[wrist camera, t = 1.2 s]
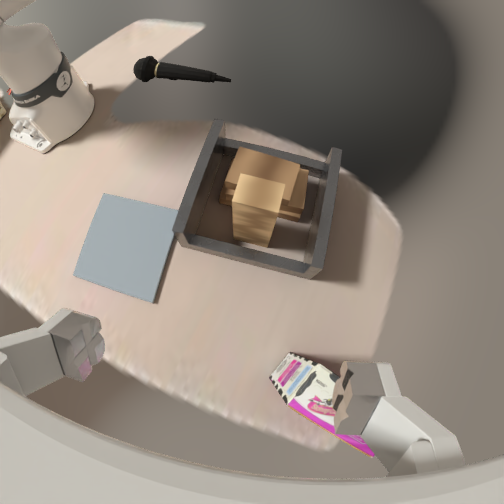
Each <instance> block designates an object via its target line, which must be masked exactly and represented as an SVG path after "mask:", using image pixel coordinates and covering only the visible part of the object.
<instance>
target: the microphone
mask: <svg viewBox="0 0 504 504" xmlns="http://www.w3.org/2000/svg"><path fill="white" fill-rule="evenodd" d="M134 74H135V76H136V78H138V79H140V80H142V81H143V82H148V81H149V80H150V79H153V78H154V77H155V76H156V77H157V78H167V79H170V80H177V79H181V80H192V81H202V82H214V81H222V82H231V79H228V78H225V77H222V76H218V75H216V73H212V72H210V71H205V70H201V69H197V68H191V67H186V66H181V65H175V64H169V63H163V62H160V63H158V62H157V60H156V59H154V57H153V56H147V57H146V58H142V59H139V60H138V61H137V62H136V64H135V65H134Z"/></svg>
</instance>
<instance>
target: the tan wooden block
mask: <svg viewBox="0 0 504 504" xmlns="http://www.w3.org/2000/svg"><path fill="white" fill-rule="evenodd" d="M284 188H285V184H282V183H278V182H274V181H270V180H266V179H262V178H258V177H254V176H250V175H246V174H242V173H241V174H240V177H239V180H238V183H237V186H236V190H235V193H234V196H233V199H232V216H233V238H234V239H235V240H239V241H243V242H247V243H251V244H255V245H259V246H263V247H268V244H269V241H270V238H271V235H272V232H273V229H274V225H275V222H276V219H277V216H278V213H279V209H280V205H281V201H282V196H283V192H284Z"/></svg>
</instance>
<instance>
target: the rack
mask: <svg viewBox="0 0 504 504" xmlns="http://www.w3.org/2000/svg"><path fill="white" fill-rule="evenodd" d="M239 146H240V147H243V148H247V149H250V150H254V151H257V152H261V153H264V154H268V155H271V156H274V157H278V158H281V159H284V160H288V161H291V162H294V163H297V164H300V169H305V170H309V173H308V175H311V176H314V177H318V178H320V180H319V185H318V191H317V196H316V201H315V207H314V212H313V217H312V222H311V227H310V232H309V237H308V242H307V247H306V251H305V256H304V261H303V262H300V261H296V260H292V259H288V258H284V257H281V256H277V255H273V254H269V253H265V252H261V251H257V250H253V249H249V248H246V247H242V246H238V245H234V244H230V243H226V242H222V241H218V240H214V239H210V238H207V237H203V236H199V235H196V232H197V229H198V226H199V223H200V220H201V217H202V214H203V211H204V208H205V205H206V202H207V199H208V196H209V193H210V190H211V187H212V184H213V182H214V179H215V176H216V173H217V170H218V167H219V165H220V162H221V159H222V156H223V154H225V155H229V156H234V157H235V156H236V153H237V151H238V149H239ZM341 155H342V150H341V149H338V148H334V147H332V149H331V151H330V153H329V155H328V157H327V159H326V161H325V163H324V162H321V161H317V160H314V159H310V158H307V157H303V156H299V155H295V154H292V153H288V152H284V151H280V150H276V149H272V148H267V147H263V146H259V145H255V144H250V143H246V142H241V141H236V140H232V139H227V138H225V121H224V120H218V119H215V120H214V122H213V124H212V127H211V129H210V131H209V134H208V136H207V138H206V141H205V143H204V146H203V148H202V151H201V153H200V156H199V158H198V161H197V163H196V166H195V168H194V171H193V173H192V176H191V178H190V181H189V184H188V186H187V189H186V192H185V194H184V197H183V200H182V203H181V205H180V208H179V211H178V214H177V216H176V219H175V222H174V225H173V228H172V232H173V233H174V235H175V237H176V238H177V240H178V242H179V243H180V245H181V246H182V247H186V248H190V249H193V250H197V251H201V252H205V253H209V254H212V255H216V256H220V257H224V258H228V259H231V260H235V261H239V262H243V263H247V264H251V265H255V266H259V267H262V268H266V269H270V270H274V271H278V272H282V273H286V274H290V275H294V276H298V277H302V278H306V279H311V278H313V277H314V276H315V275H316V274H318V273H319V272H320V271H321V270H322V269H323V266H324V260H325V255H326V250H327V244H328V239H329V233H330V228H331V222H332V216H333V210H334V203H335V197H336V190H337V184H338V177H339V170H340V162H341Z"/></svg>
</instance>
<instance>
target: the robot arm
mask: <svg viewBox="0 0 504 504" xmlns="http://www.w3.org/2000/svg"><path fill="white" fill-rule="evenodd" d="M34 1H36V0H0V76H1V77H2V78H3V79H4V81H5V82H6V83H7V85H8V86H9V87H10V88H9V90H10V89H11V90H10V92H9V95H10V94H11V93H12V96H13V100H14V103H13V105H12V107H11V110H10V113H9V119H10V121H11V122H12V124H13V127H12V130H11V133H10V137H11V138H12V139H13V140H15V141H17V142H19V143H21V144H23V145H25V146H27V147H30V148H32V149H34V150H36V151H38V152H40V153H46V152H47V151H49V150H50V149H51V148H52V147H53V146H54V145H56V144H57V143H59V142H61V141H63V140H65V139H67V138H69V137H70V136H72V135H73V134H74V133H76V132H77V131H78V130H79V129H80V128H81V127H82V126H83V125H84V124H85V122H86V121H87V120H88V118H89V117H90V115H91V113H92V111H93V108H94V98H93V96H92V94H91V93H90V92H89V85H88V83H87V82H86V81H82V79H81V78H80V76H79V75H78V73H77V72H76V71H75V69H74V68H73V66H71V65H70V64H69V62H68V59H67V57H66V56H65V55H64V53H63V52H60V50H59V48H58V46H57V44H56V42H55V40H54V38H53V36H52V34H51V32H50V30H49V28H48V27H47V26H45V25H43V24H40V23H29V24H24V25H20V26H9V25H6V24H4V22H5V21H6V20H7V19H8V18H10V17H11V16H13V15H14V14H16V13H17V12H19V11H20V10H22V9H23V8H25V7H26V6H28V5H30V4H31V3H33V2H34ZM9 90H8V91H9ZM8 91H7V92H8ZM100 330H101V323H100V320H99V319H98V318H96V317H93V316H90V315H87V314H84V313H80V312H77V311H74V310H71V309H67V308H62V309H61V310H59V311H58V312H57V313H56V314H55V315H53V316H52V317H51V318H50V319H49V320H47V321H46V322H45V323H44V324H43V325H41V326H40V327H39V328H38V329H37V328H32V329H28V330H25V331H21V332H17V333H14V334H11V335H7V336H4V337H0V504H504V454H503V455H500V456H497V457H493V458H490V459H486V460H483V461H479V462H475V463H471V464H467V465H466V463H465V460H464V457H463V454H462V451H461V449H460V446H459V443H458V441H457V438H456V436H455V435H454V434H452V433H451V432H450V431H449V430H448V429H446V428H445V427H444V426H443V425H441V424H440V423H439V422H438V421H436V420H435V419H434V418H432V417H431V416H430V415H429V414H427V413H426V412H425V411H424V410H422V409H421V408H420V407H419V406H417V405H416V404H415V403H414V402H413V401H411V400H410V399H409V398H408V397H406V396H402V394H401V392H400V389H399V386H398V383H397V380H396V377H395V375H394V372H393V369H392V366H391V364H390V363H389V362H358V361H344V362H343V363H342V366H341V368H340V375H341V377H340V378H339V379H338V380H336V383H335V386H334V390H333V396H332V405H333V409H334V410H335V411H336V414H335V416H334V429H335V434H340V435H361V438H362V439H363V440H364V442H365V443H366V444H367V445H368V447H369V448H370V449H371V450H372V452H373V453H374V454H375V456H376V457H377V458H378V459H379V460H380V462H381V463H382V464H383V466H384V467H385V468H386V469H387V471H388V472H389V473H388V475H387V476H386V477H380V478H363V479H311V478H294V477H281V476H271V475H262V474H254V473H246V472H240V471H234V470H228V469H223V468H217V467H212V466H207V465H203V464H198V463H194V462H189V461H185V460H181V459H177V458H174V457H170V456H166V455H163V454H159V453H156V452H152V451H149V450H146V449H143V448H140V447H137V446H134V445H131V444H128V443H125V442H122V441H120V440H117V439H114V438H112V437H109V436H106V435H103V434H101V433H99V432H97V431H94V430H92V429H89V428H87V427H85V426H82V425H80V424H78V423H76V422H73V421H71V420H69V419H67V418H65V417H63V416H61V415H59V414H57V413H55V412H53V411H51V410H48V409H47V408H45V407H43V406H41V405H39V404H37V403H35V402H34V401H32V400H30V399H29V398H27V397H26V395H28V394H30V393H32V392H35V391H36V390H38V389H40V388H42V387H44V386H46V385H48V384H50V383H52V382H54V381H56V380H58V379H60V378H62V377H64V375H65V376H67V377H70V378H73V379H75V380H78V381H81V382H83V381H84V380H85V379H86V378H87V376H88V375H89V374H90V373H91V371H92V365H95V364H97V363H99V361H100V360H101V359H102V357H103V354H104V351H105V343H104V339H103V337H102V336H101V334H100V333H99V332H100Z"/></svg>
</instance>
